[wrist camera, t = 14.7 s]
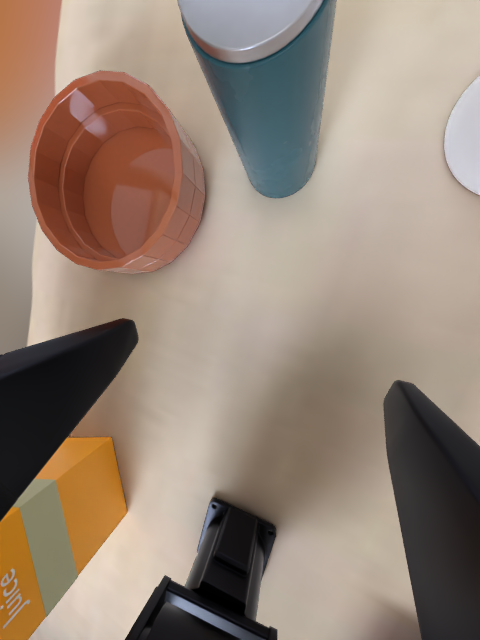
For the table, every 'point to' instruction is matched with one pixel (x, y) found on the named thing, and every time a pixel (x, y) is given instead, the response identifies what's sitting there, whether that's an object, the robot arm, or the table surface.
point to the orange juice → (56, 531)
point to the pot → (115, 176)
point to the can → (266, 80)
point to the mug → (465, 138)
